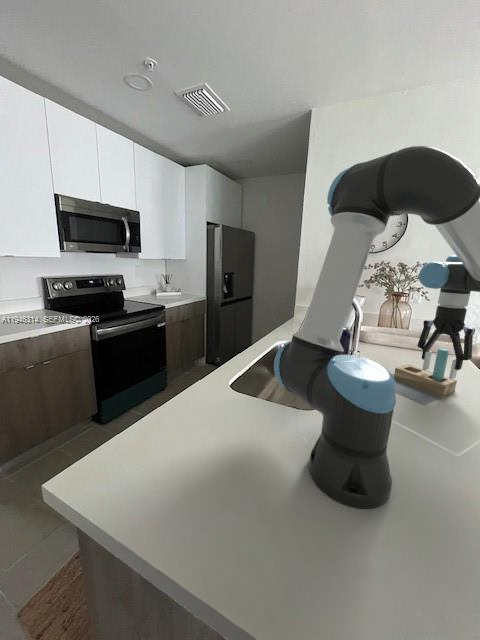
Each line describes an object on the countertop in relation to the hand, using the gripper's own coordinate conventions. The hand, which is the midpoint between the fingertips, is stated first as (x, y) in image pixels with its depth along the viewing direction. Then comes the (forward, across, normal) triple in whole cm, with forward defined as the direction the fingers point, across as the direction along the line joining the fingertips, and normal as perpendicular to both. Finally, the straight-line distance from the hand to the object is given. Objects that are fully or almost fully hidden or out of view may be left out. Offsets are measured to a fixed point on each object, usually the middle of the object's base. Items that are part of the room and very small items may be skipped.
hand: (438, 373), depth 91 cm
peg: (+6, 0, 0) cm, 6 cm away
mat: (+6, +5, +5) cm, 9 cm away
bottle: (+6, +21, +26) cm, 34 cm away
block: (+6, +4, 0) cm, 7 cm away
